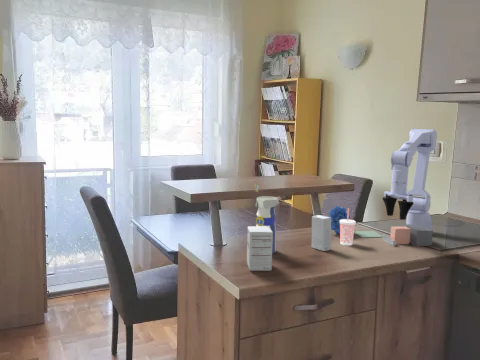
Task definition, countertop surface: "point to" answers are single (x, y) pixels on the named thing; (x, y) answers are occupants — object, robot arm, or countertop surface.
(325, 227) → the skincare box
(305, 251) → the countertop surface
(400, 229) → the salmon pink block
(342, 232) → the beverage cup
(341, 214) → the grapes
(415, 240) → the gray rectangular block
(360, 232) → the mat
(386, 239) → the bar
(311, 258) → the countertop surface
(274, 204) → the spray bottle
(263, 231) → the supplement box
